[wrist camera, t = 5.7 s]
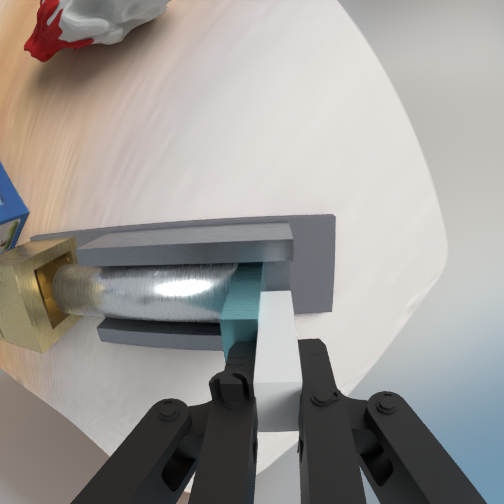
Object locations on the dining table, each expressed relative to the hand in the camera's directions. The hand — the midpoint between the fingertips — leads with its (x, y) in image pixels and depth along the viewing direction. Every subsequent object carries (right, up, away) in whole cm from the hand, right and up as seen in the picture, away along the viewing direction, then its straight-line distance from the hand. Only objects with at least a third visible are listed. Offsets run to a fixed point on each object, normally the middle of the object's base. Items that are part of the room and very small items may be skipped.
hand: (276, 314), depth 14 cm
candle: (-14, +25, +2) cm, 29 cm away
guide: (-11, +2, +7) cm, 13 cm away
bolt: (-8, +1, +6) cm, 10 cm away
